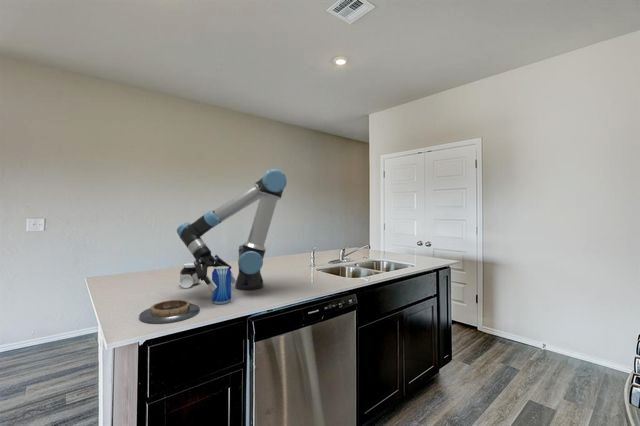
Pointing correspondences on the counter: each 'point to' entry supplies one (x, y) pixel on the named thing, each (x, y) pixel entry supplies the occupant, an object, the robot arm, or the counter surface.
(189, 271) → the spread jar
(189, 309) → the collar plate
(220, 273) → the beer can
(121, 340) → the counter surface
